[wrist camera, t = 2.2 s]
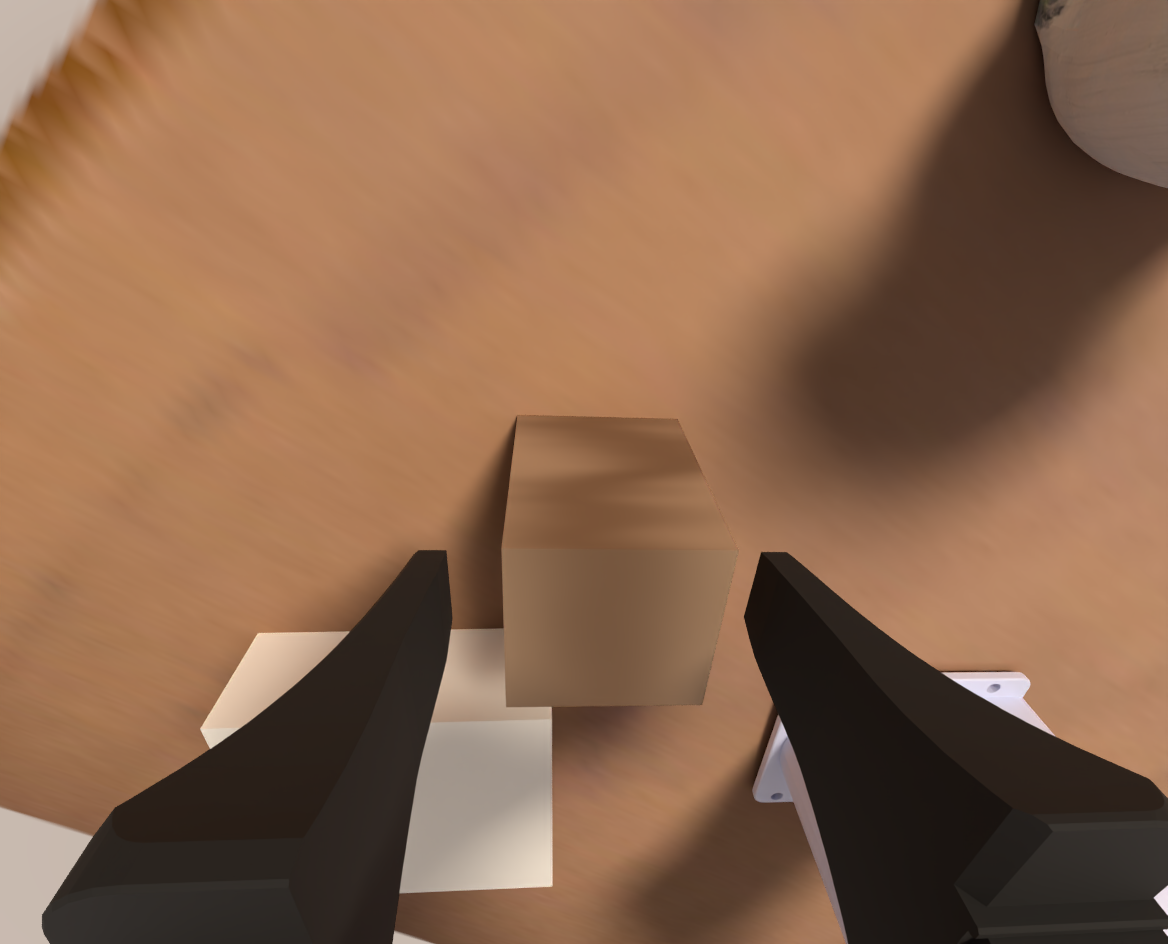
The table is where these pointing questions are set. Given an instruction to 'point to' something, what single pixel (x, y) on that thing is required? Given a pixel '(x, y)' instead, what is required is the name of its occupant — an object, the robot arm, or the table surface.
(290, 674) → the ceramic base
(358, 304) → the table surface
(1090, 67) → the decorative ornament
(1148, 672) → the table surface
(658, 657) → the walnut block
